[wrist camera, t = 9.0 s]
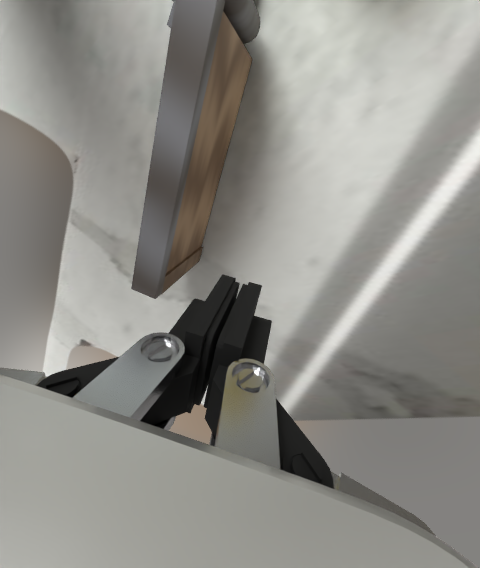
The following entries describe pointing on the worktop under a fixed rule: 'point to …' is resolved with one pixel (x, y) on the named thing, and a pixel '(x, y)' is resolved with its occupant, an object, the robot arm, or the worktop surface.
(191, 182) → the gate
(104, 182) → the worktop surface
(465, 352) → the worktop surface
